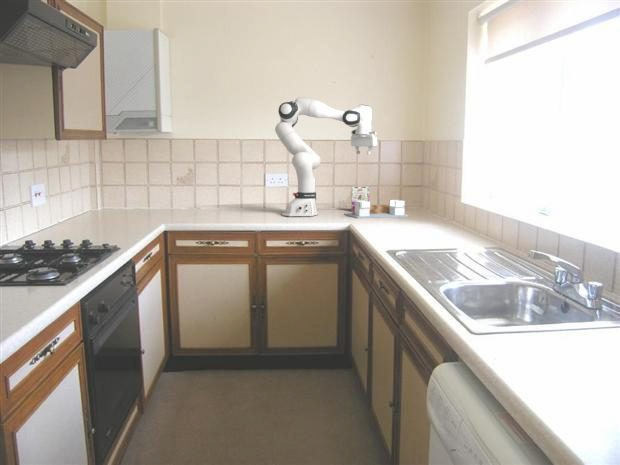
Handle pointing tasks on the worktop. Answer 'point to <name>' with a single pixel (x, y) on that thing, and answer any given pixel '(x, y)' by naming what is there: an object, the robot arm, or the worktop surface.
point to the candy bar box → (360, 194)
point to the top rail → (377, 209)
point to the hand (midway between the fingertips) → (363, 154)
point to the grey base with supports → (364, 208)
